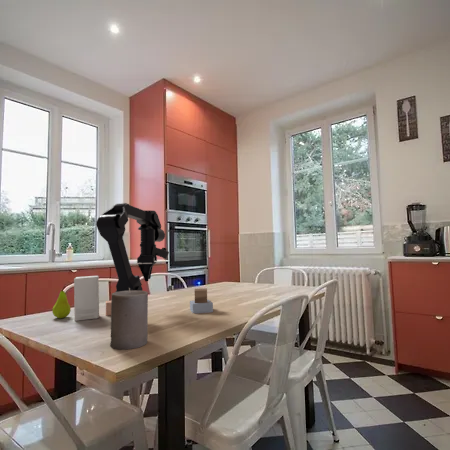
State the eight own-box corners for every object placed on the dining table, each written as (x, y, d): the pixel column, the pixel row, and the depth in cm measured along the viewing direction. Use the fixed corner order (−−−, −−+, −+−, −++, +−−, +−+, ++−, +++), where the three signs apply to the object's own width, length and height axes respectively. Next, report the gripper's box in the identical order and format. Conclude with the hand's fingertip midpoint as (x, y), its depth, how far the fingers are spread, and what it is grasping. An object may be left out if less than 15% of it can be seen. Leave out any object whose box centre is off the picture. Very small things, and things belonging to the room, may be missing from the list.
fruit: (48, 319, 115) (49, 286, 116) (63, 315, 121) (64, 284, 121) (59, 320, 112) (59, 287, 113) (74, 317, 118) (74, 285, 119)
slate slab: (212, 312, 122) (212, 302, 122) (193, 314, 120) (192, 304, 120) (208, 309, 129) (208, 299, 130) (190, 310, 127) (189, 300, 128)
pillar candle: (102, 347, 80) (103, 289, 81) (127, 336, 89) (128, 284, 90) (131, 352, 76) (132, 291, 77) (155, 340, 85) (155, 286, 86)
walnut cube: (207, 302, 122) (207, 290, 123) (194, 303, 122) (194, 290, 122) (207, 300, 127) (206, 288, 128) (194, 300, 127) (194, 288, 127)
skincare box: (99, 315, 119) (99, 275, 121) (98, 319, 113) (98, 276, 114) (75, 317, 117) (76, 276, 118) (73, 321, 110) (73, 277, 112)
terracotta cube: (119, 314, 121) (119, 301, 121) (105, 315, 119) (106, 302, 119) (118, 312, 125) (118, 299, 126) (105, 313, 123) (105, 301, 124)
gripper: (167, 240, 116) (167, 281, 115) (168, 241, 135) (168, 277, 134) (137, 241, 115) (136, 283, 114) (142, 242, 133) (142, 278, 132)
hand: (147, 280), depth 123 cm, fingers open, 9 cm apart
